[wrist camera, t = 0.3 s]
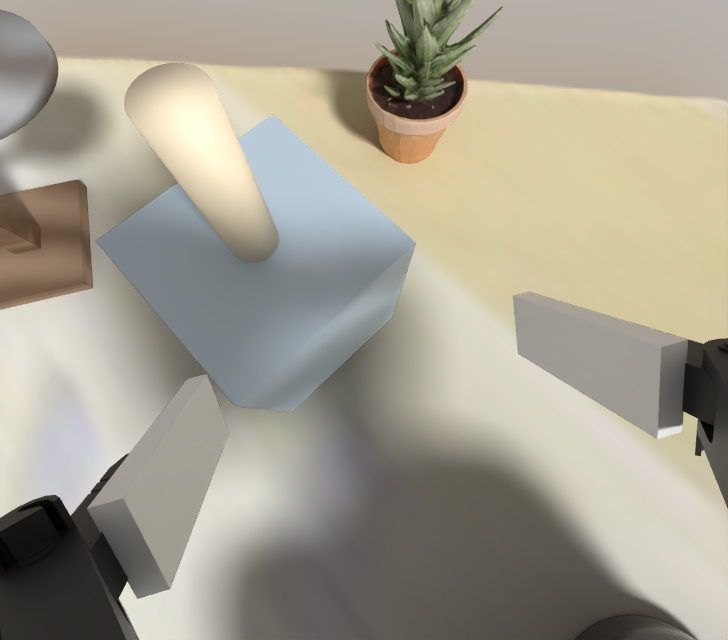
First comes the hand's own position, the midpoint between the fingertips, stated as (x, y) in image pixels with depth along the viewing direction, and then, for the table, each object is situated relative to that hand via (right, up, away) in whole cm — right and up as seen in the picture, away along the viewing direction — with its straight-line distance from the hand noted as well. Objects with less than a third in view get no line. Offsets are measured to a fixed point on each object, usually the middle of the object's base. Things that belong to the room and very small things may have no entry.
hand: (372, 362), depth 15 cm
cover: (-7, +2, +19) cm, 21 cm away
